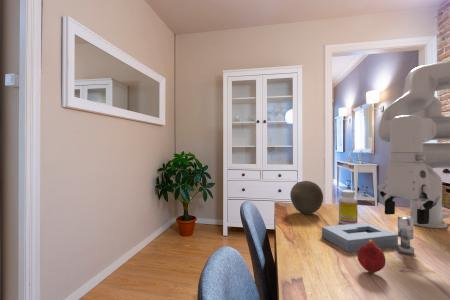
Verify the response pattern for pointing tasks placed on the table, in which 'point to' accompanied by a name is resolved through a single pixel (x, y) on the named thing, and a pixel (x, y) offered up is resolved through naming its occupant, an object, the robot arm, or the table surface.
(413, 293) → the table surface
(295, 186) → the dark brown ball
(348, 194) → the supplement bottle
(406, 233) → the stud
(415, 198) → the robot arm
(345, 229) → the keyhole plate
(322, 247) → the table surface
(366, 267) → the onion
